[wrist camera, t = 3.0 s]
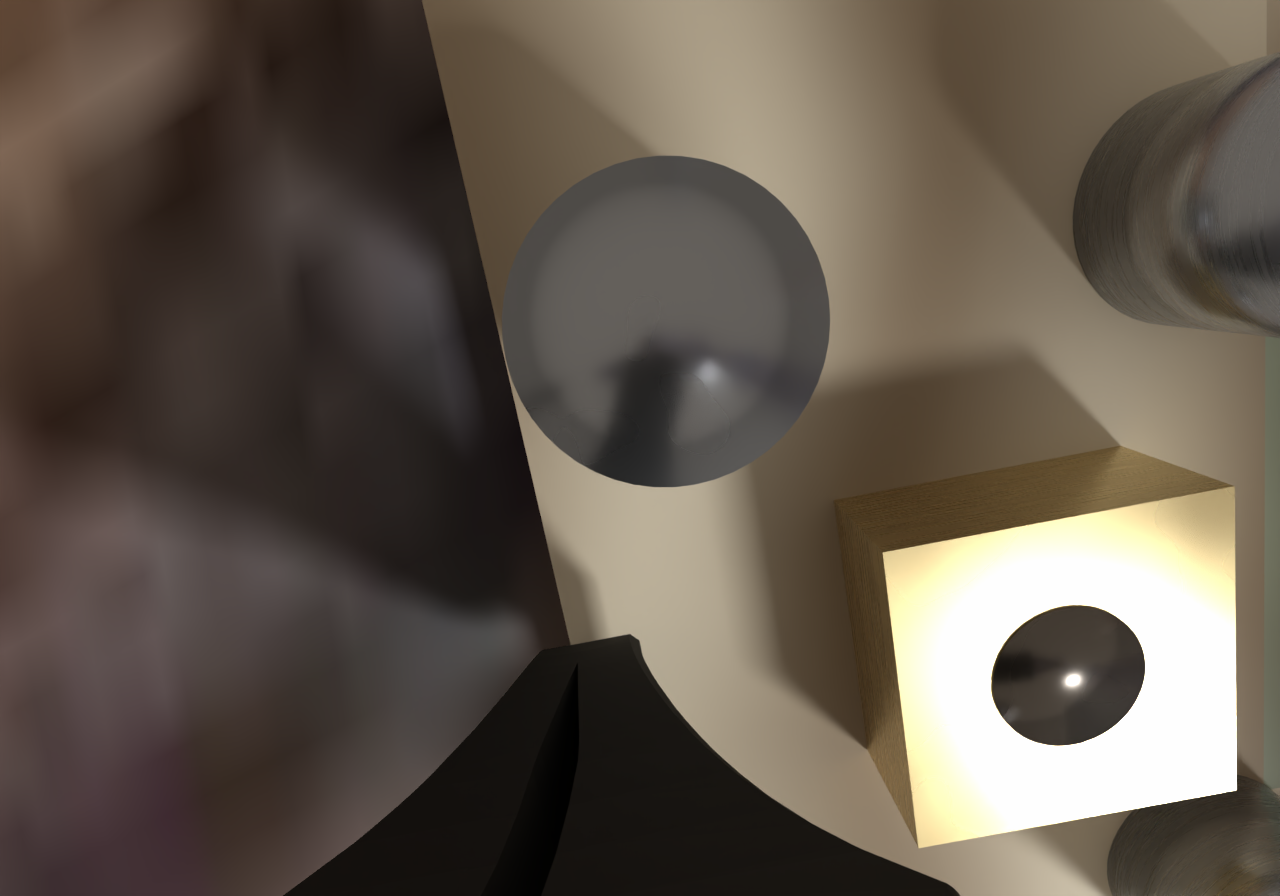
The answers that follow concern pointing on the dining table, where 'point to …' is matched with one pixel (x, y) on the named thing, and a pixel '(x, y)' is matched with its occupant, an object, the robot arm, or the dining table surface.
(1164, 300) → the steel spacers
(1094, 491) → the brass nut
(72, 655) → the dining table surface
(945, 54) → the birch board
